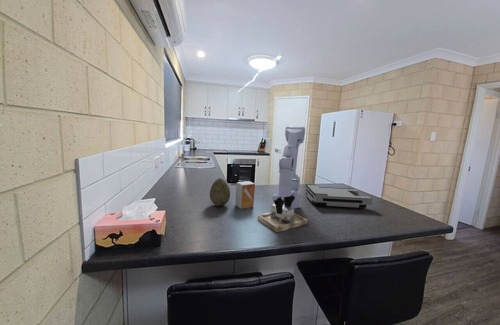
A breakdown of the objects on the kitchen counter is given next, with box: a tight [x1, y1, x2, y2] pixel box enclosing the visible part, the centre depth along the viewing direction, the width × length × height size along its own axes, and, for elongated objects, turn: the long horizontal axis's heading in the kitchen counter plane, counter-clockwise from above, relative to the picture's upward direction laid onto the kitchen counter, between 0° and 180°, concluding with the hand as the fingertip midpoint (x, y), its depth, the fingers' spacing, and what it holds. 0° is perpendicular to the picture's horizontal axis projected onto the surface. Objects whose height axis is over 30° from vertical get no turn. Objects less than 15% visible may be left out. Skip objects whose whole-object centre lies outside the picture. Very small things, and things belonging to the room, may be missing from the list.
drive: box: [271, 203, 295, 221], centre depth 95 cm, size 5×9×5 cm, turn 41°
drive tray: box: [257, 212, 308, 233], centre depth 95 cm, size 18×14×4 cm
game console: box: [304, 183, 374, 211], centre depth 125 cm, size 21×32×8 cm, turn 90°
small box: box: [235, 180, 256, 210], centre depth 111 cm, size 8×6×13 cm
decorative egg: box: [209, 177, 231, 207], centre depth 109 cm, size 11×11×15 cm
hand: (282, 212), depth 95 cm, fingers closed on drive, 5 cm apart
